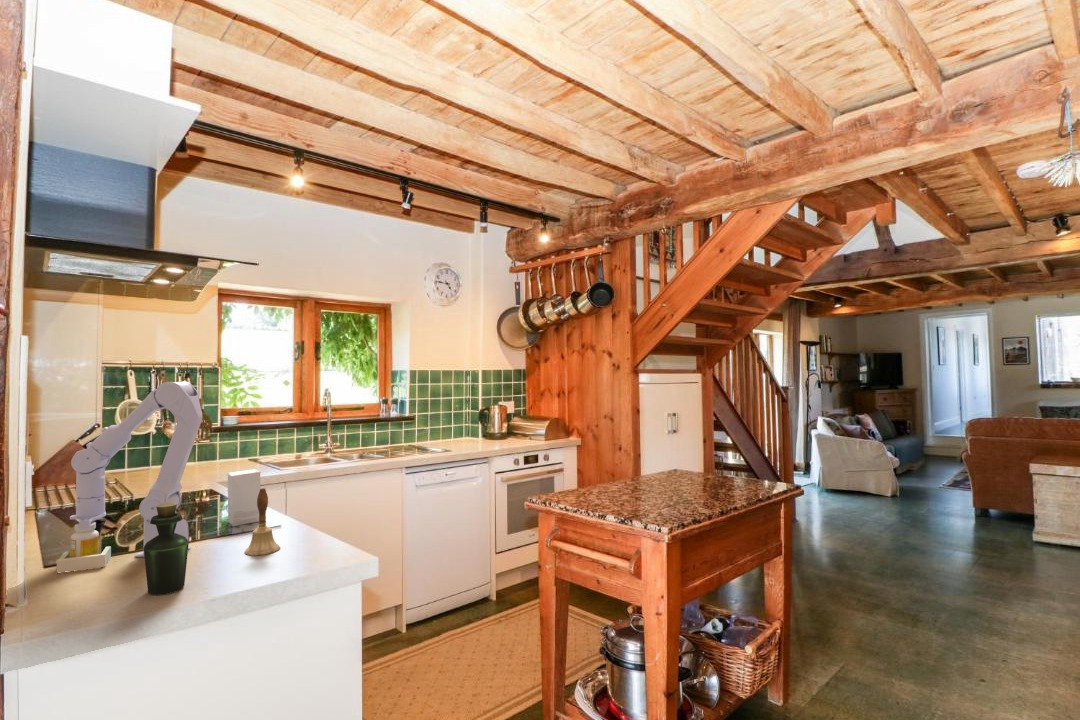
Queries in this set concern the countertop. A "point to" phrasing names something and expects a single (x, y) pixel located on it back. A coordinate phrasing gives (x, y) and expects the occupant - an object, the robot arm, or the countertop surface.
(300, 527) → the countertop surface
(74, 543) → the supplement bottle
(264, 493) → the hand bell
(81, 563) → the tray
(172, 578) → the potion bottle
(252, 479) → the skincare box
